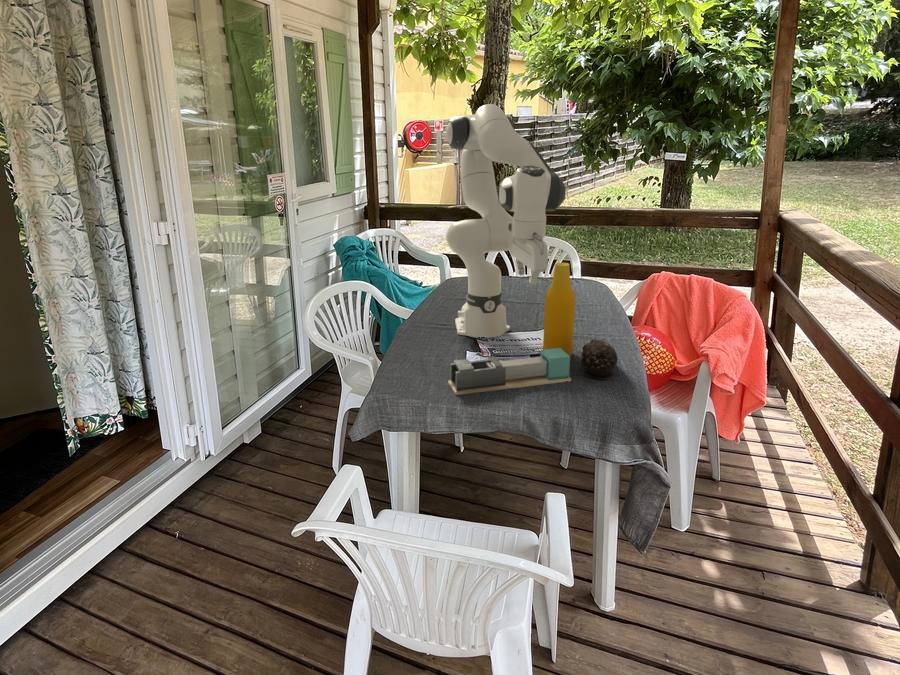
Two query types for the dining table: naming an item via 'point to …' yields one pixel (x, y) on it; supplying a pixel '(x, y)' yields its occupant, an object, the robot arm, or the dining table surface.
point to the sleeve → (477, 374)
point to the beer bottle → (559, 311)
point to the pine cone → (598, 359)
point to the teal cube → (556, 363)
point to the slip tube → (524, 367)
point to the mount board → (513, 384)
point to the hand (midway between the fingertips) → (526, 279)
